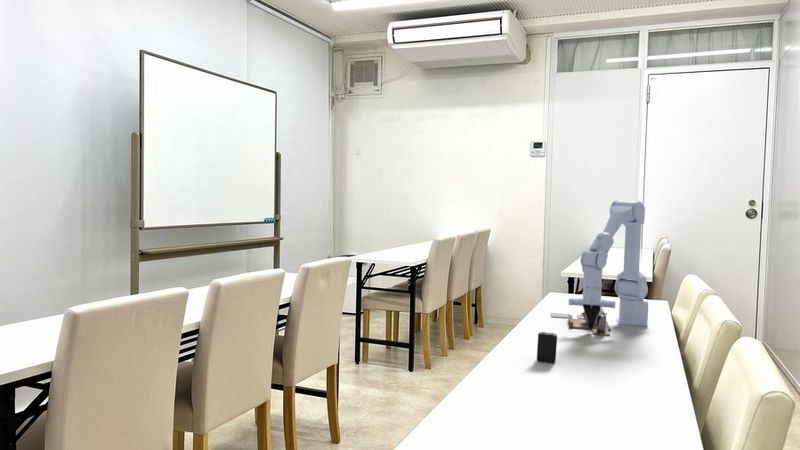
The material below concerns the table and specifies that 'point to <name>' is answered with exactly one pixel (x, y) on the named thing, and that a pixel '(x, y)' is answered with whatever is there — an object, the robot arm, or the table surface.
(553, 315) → the broken grey strip
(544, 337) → the ink cartridge
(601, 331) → the brown base with post
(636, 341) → the table surface
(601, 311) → the game die
